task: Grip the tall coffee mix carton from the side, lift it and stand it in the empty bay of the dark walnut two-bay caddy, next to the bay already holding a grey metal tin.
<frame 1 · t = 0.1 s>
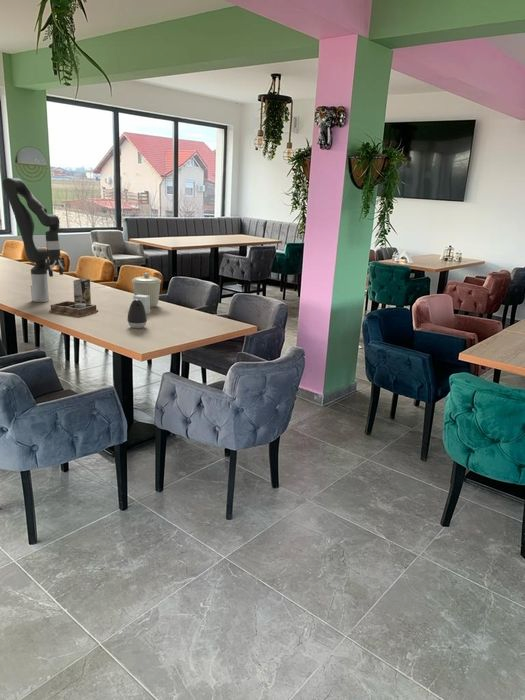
hand: (56, 275, 325), 17 cm above the table, tool pointing down, fingers open, 8 cm apart
black and white dome: (137, 327, 285), on the table
small box: (142, 313, 316), on the table
coffee box: (83, 306, 327), on the table
caddy: (73, 311, 311), on the table
canister: (146, 306, 334), on the table
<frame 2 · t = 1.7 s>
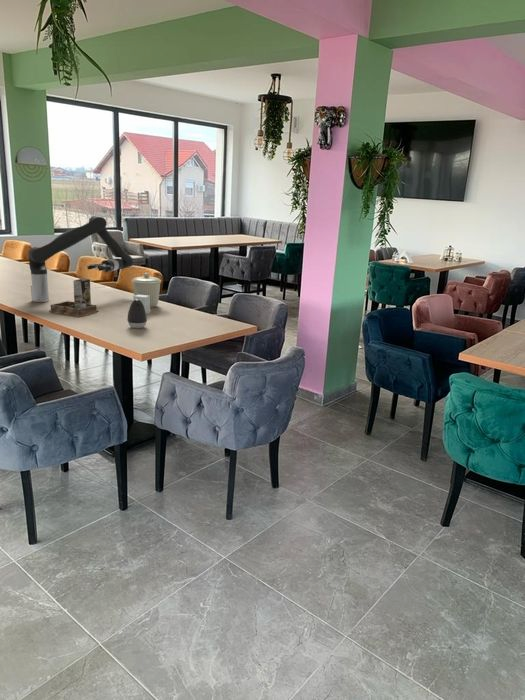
hand: (93, 268, 330), 22 cm above the table, tool horizontal, fingers open, 8 cm apart
nothing on the table moved.
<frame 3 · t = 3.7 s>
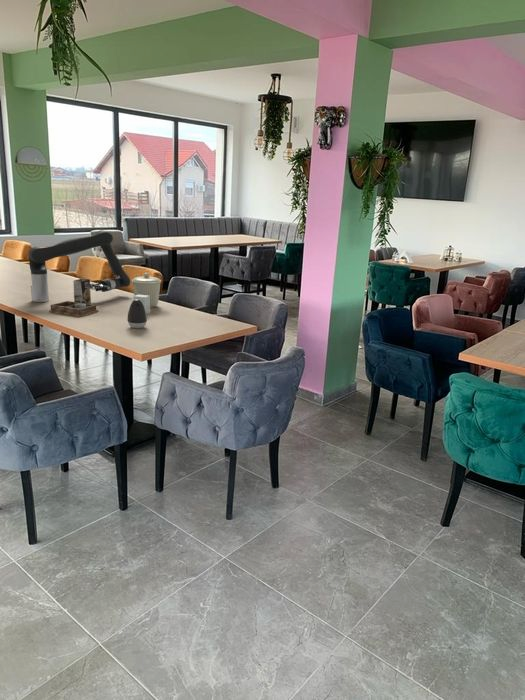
hand: (90, 288, 331), 9 cm above the table, tool horizontal, fingers open, 8 cm apart
nothing on the table moved.
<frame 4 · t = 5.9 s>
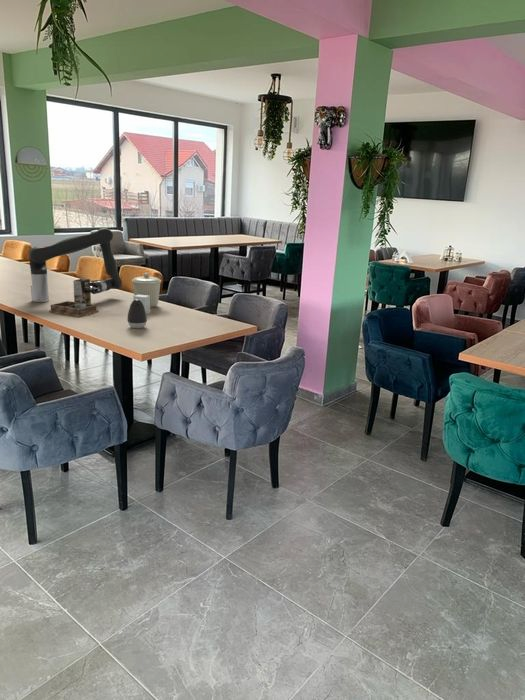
hand: (79, 291, 322), 10 cm above the table, tool horizontal, fingers closed on coffee box, 7 cm apart
coffee box: (83, 306, 327), on the table, touching gripper
everything else where it was.
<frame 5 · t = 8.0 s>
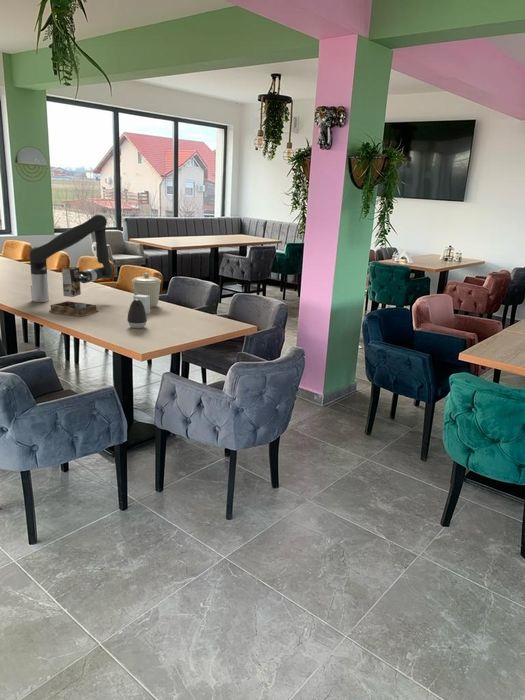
hand: (68, 279, 311), 18 cm above the table, tool horizontal, fingers closed on coffee box, 7 cm apart
coffee box: (72, 295, 316), point 8 cm above the table, touching gripper
everything else where it was.
when the fingers open (11 cm above the table, at t = 10.6 s): coffee box stays where it is, resting on caddy.
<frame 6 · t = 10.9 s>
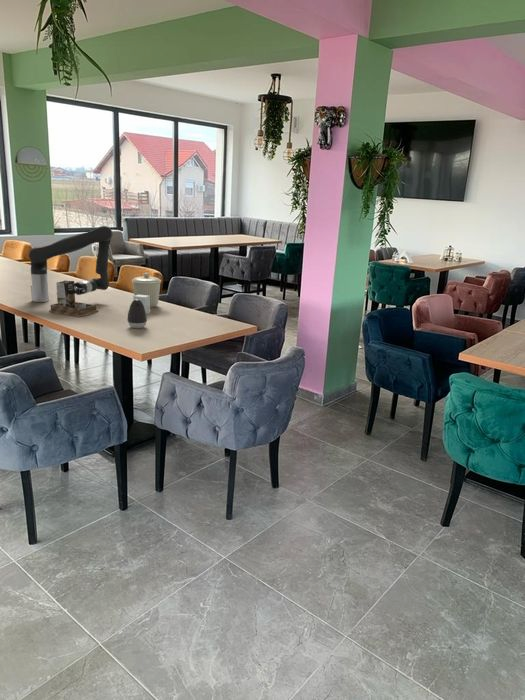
hand: (63, 291, 308), 11 cm above the table, tool horizontal, fingers open, 8 cm apart
coffee box: (66, 309, 313), point 1 cm above the table, touching caddy
everything else where it was.
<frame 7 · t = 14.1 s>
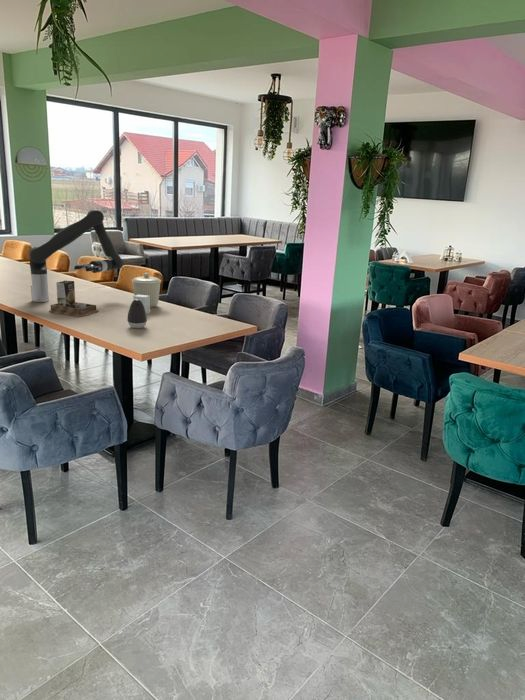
hand: (80, 268, 318), 23 cm above the table, tool horizontal, fingers open, 8 cm apart
nothing on the table moved.
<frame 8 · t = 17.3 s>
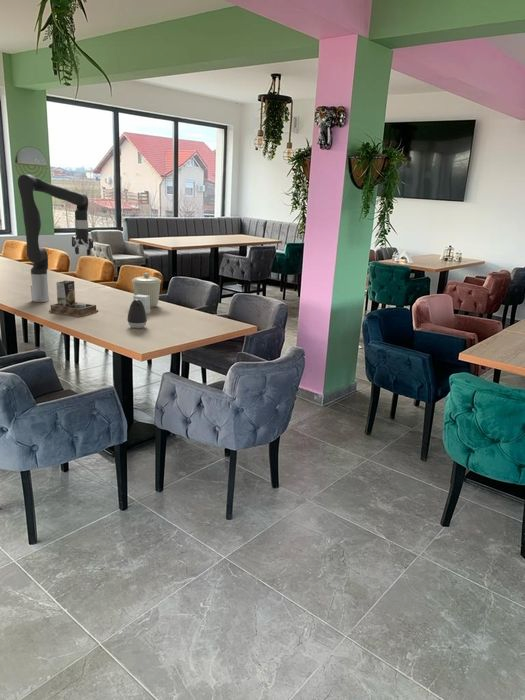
hand: (83, 254, 326), 30 cm above the table, tool pointing down, fingers open, 8 cm apart
nothing on the table moved.
at the end: coffee box 0.1 cm from the target spot on the caddy, point 0.8 cm above the caddy's base; coffee box tilted 0°; the gripper is holding nothing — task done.
